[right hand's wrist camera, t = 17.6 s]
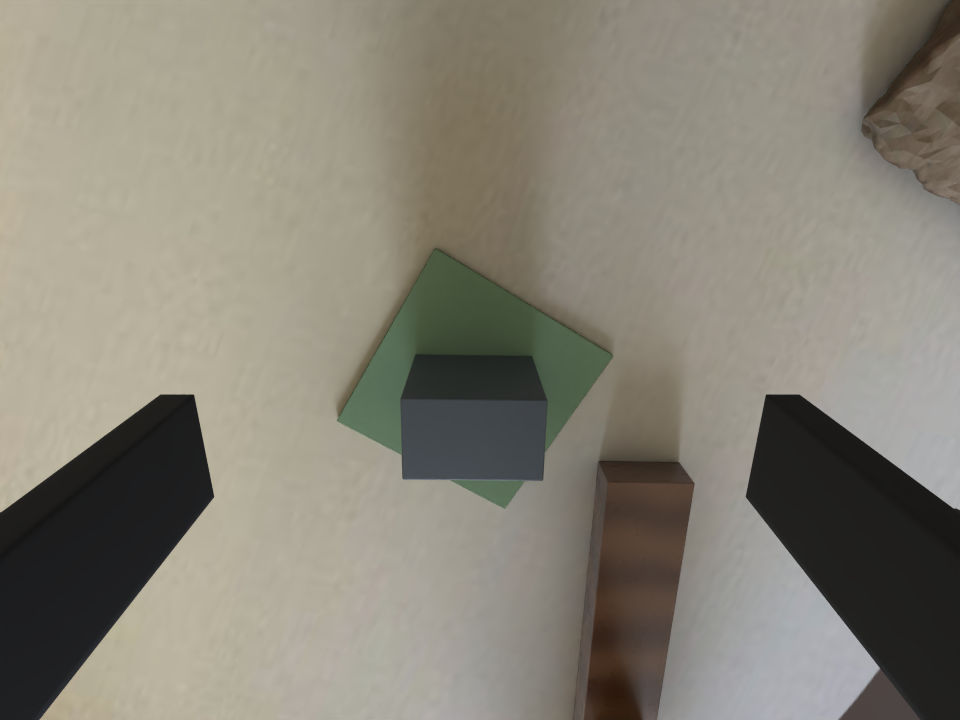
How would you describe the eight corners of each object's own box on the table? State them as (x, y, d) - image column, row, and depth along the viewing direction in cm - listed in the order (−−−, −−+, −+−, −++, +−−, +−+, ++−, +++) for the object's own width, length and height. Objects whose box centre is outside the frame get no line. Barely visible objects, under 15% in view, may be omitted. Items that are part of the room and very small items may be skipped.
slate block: (414, 353, 37) (399, 398, 29) (532, 355, 37) (547, 400, 30) (416, 421, 39) (402, 480, 31) (529, 422, 39) (543, 481, 31)
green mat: (435, 247, 35) (435, 248, 35) (612, 354, 38) (613, 356, 37) (337, 418, 39) (336, 421, 38) (504, 506, 41) (504, 509, 41)
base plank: (598, 461, 40) (632, 536, 32) (679, 461, 40) (734, 537, 32) (572, 724, 48) (594, 841, 40) (640, 724, 48) (676, 841, 40)
